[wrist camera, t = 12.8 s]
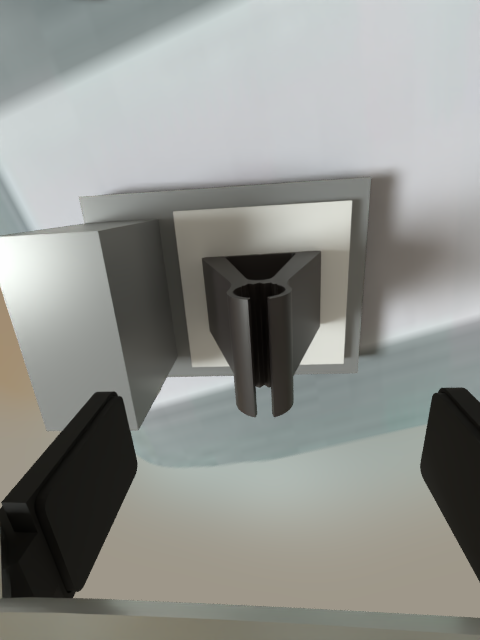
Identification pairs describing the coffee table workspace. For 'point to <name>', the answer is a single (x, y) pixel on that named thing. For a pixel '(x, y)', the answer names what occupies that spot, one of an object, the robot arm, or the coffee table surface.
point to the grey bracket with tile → (171, 286)
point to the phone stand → (263, 319)
